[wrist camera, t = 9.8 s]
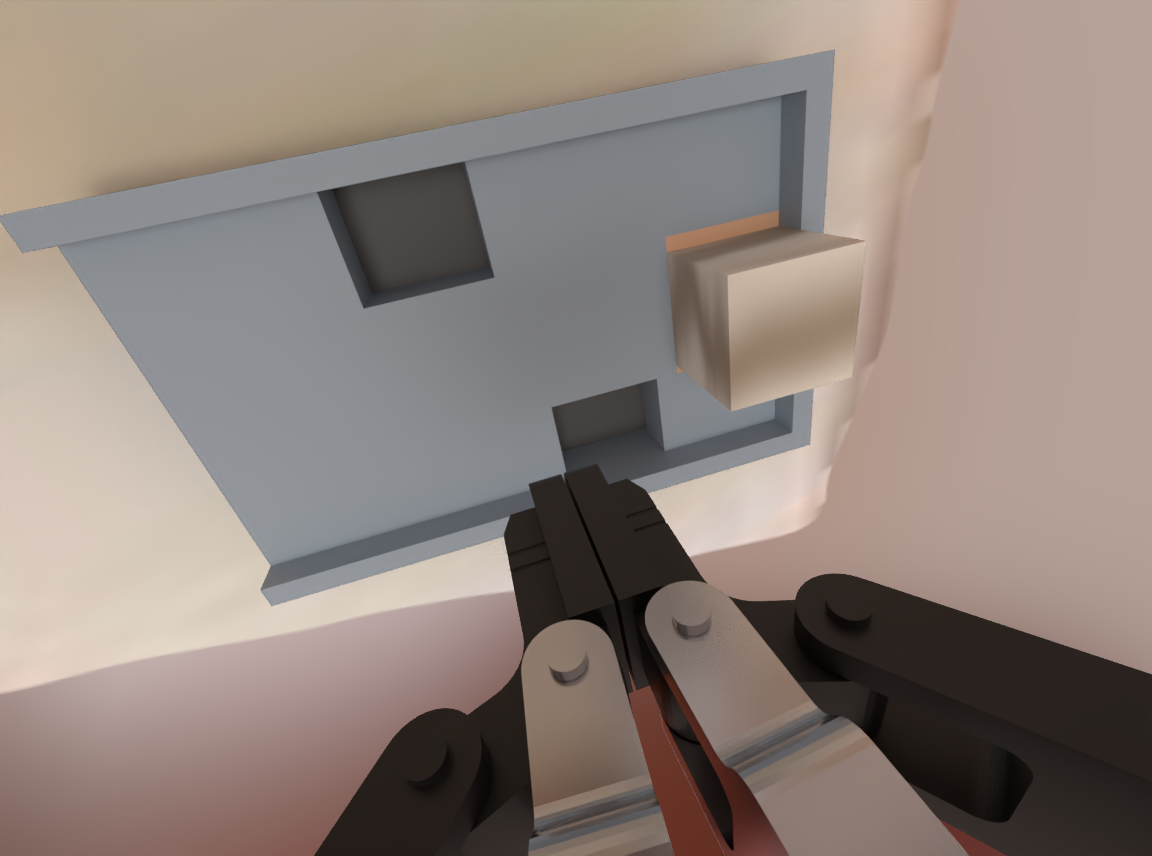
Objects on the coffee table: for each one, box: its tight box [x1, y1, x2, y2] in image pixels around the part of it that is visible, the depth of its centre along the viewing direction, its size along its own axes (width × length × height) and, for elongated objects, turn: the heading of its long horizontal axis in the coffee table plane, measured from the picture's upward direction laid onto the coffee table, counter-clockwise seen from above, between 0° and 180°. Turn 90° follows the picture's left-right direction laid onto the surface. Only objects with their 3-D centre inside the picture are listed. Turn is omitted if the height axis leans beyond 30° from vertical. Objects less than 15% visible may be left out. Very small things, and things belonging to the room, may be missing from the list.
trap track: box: [0, 50, 835, 606], centre depth 21 cm, size 16×26×4 cm, turn 101°
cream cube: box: [667, 226, 866, 411], centre depth 20 cm, size 5×5×5 cm
